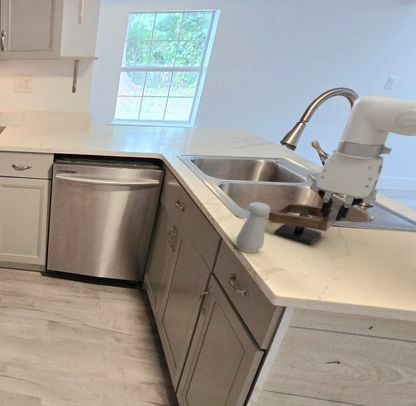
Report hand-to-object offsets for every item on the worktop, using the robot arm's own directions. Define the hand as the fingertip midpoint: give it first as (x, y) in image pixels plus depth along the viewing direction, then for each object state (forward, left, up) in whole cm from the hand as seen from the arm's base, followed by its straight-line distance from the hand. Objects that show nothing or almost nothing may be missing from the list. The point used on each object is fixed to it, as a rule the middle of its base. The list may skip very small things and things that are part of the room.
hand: (331, 217), depth 95 cm
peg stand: (+5, 0, -8) cm, 9 cm away
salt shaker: (+10, +19, -8) cm, 23 cm away
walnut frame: (+5, 0, -3) cm, 6 cm away
